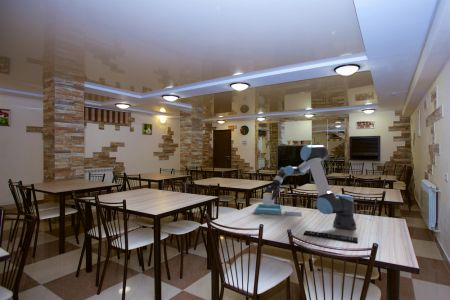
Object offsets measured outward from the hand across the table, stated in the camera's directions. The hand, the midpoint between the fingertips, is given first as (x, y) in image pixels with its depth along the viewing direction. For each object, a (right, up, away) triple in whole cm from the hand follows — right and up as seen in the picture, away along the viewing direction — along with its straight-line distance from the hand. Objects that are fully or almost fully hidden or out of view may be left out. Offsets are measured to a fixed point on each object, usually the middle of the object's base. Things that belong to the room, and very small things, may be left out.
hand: (266, 201), depth 227 cm
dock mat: (+22, -9, -9) cm, 25 cm away
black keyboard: (+31, -11, -64) cm, 71 cm away
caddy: (+3, -3, +2) cm, 5 cm away
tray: (+3, -9, +2) cm, 10 cm away
